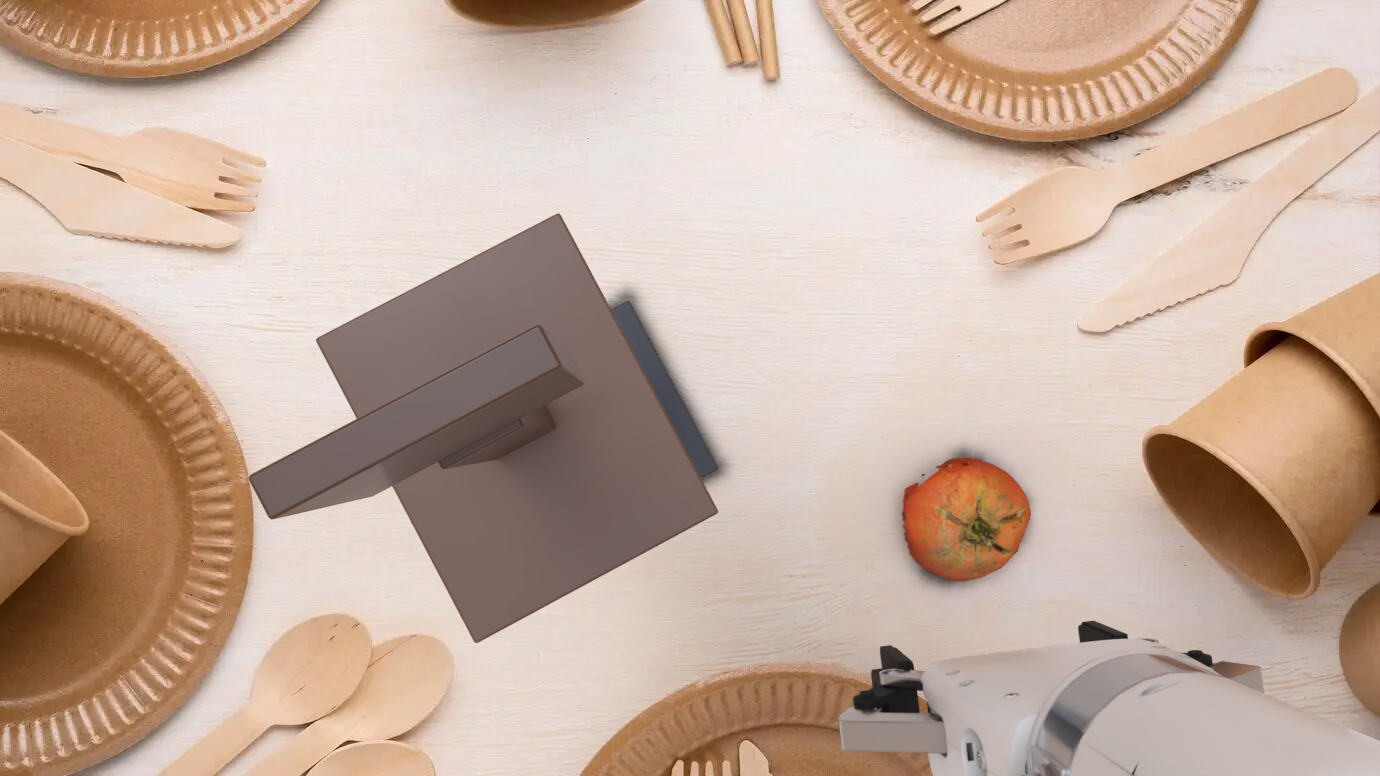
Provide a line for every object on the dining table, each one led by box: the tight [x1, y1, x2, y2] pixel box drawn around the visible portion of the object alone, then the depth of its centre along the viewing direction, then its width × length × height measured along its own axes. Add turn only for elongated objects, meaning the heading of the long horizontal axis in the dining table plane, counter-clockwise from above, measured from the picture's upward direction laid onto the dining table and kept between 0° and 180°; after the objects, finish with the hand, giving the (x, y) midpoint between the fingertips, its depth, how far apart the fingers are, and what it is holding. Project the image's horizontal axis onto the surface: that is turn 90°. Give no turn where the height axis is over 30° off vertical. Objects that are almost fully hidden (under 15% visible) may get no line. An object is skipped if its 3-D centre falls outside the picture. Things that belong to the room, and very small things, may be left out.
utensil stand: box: [248, 212, 719, 644], centre depth 42 cm, size 12×12×50 cm
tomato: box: [901, 457, 1032, 582], centre depth 66 cm, size 8×7×7 cm
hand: (989, 665), depth 50 cm, fingers open, 9 cm apart
